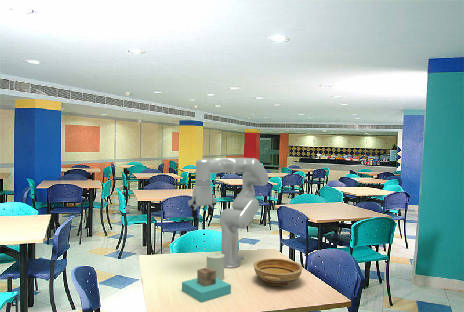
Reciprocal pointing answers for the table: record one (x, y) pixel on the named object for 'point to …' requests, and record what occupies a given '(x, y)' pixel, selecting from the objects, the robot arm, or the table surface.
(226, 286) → the teal base
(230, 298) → the table surface
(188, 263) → the table surface
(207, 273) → the walnut cube
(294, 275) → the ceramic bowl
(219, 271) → the can
